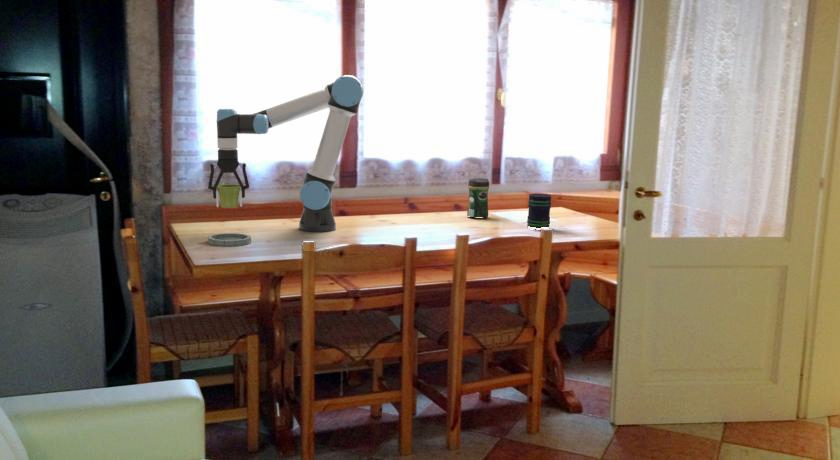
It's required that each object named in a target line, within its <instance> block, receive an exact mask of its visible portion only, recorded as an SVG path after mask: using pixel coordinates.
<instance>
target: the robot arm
mask: <svg viewBox="0 0 840 460" xmlns="http://www.w3.org/2000/svg"><path fill="white" fill-rule="evenodd" d="M363 94H364V87H363V83H362V82H361V80H360V79H359V78H358V77H356V76H354V75H352V74H344V75H343V74H342V75H341V76H339V77H337V78H336V80H334V82H331V83H329V84H326V85H325V87H324V88H323V89H320V90H318V91H317V90H316V91H315V92H312V93H309V94H307V95H303V96H300V97H297V98H294V99H292V100H289V101H286V102H284V103H280V104H277V105H275V106H273V107H269V108H266V109H265V110H264V109H263V110H260V111H258V112H254V113H250V114H240V113H237V109H234V108H219V109H218V110H217V111H216V129H217V131H216V132H217V134H216V135H217V148H218V150H217V162H215V163H210V164H209V165H210V174H209V181H208V186H207V188H208V189H210V190H212V197H213V199H214V200H216V203H215V204H216V208H219V191H218V188H217V186H218V185H220V184H219V183H220V182H221V179H222V177H223V175H224V174H228V173H229V174H231V173H233V175H234V176H235V179H236V180H237V183H238V185H240V186H241V187H240V190H239V208H240V207H241V208H242V207H243V199H245V197H246V190H247V189H249V188H250V184H249V179H248V176H247V171H246V168H247V164H246V162H243V163H242V162H239V159H238V158H239V156H238V155H239V153H238V149H237V148H238V135H239V134H241V135H242V134H243V135H245V134H246V135H247V134H248V135H265V134H268V132H269V129H272V128H274V127H276V126H279V125H282V124H285V123H288V122H291V121H294V120H296V119H299V118H303V117H305V116H308V115H311V114H315V113H317V112H319V111H322V110H326V109H328V108H329V113H328V116H327V120H326V122H325V126H324V129H323V133H322V136H321V139H320V141H319V146H318V147H317V148H318V149H317V151H316V155H315V159H314V162H313V165H312V168H311V169H309V170H307V171H306V173H305V174H304V176H303V184H302V187H301V188H300V191H299V199H300V201H301V203H302V204H303V211H302V214H301V216H300V220H299V223H298V227H299V228H298V229H299V230H301V231H306V232H331V231H335V230H336V228H337V224H336V219H335V217H334V216H335V215H334V214H333V209H332V208H333V189H334V186H335V183H336V178H335V176H334V174H335V170H336V166H337V163H338V160H339V157H340V154H341V152H342V148H343V145H344V142H345V138H346V135H347V132H348V128H349V126H350V122H351V119H352V117H354V116H356V115H357V113H358V109H359V107H360V103H361V101H362V98H363V96H364V95H363ZM217 167H218V168H219V170H220V171H219V173H218V176H217V178H216V180H215V183H214V185H213V182H214V181H213V180H214V173H215V169H216V168H217ZM239 167H240V169H241V170H242V175H243V179H244V183H245V185H244V184H243V182H242V179H241V178H240V176H239V173H238V171H237V168H239Z"/></svg>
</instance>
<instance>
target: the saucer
mask: <svg viewBox="0 0 840 460" xmlns="http://www.w3.org/2000/svg"><path fill="white" fill-rule="evenodd" d="M251 237H252V236H251V235H250V234H249V235H248V234H246V233H236V232H224V233H214V234H211V235H208V237H207V238H208V239H207V242H208V243H207V244H209V245H212V246H217V247H238V246H239V247H241V246H245V245H249V244H251V242H252V238H251Z"/></svg>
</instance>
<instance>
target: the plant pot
mask: <svg viewBox="0 0 840 460" xmlns="http://www.w3.org/2000/svg"><path fill="white" fill-rule="evenodd" d="M240 189H241V186H240V185H239V184H236V183H235V184H233V183H230V184H229V183H228V184H227V183H226V184H225V183H224V184H218V186H217V190H218V196H219V201H220V205H221V206H220V207H221V208H223V209H236V208H238V205H239V204H238V203H239V197H240Z"/></svg>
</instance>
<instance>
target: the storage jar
mask: <svg viewBox="0 0 840 460" xmlns="http://www.w3.org/2000/svg"><path fill="white" fill-rule="evenodd" d="M551 206H552V195H550V194H547V193H546V194H545V193H530V194H528V205H527V207H528V215H527V220H526V225H527V227H528V226H530V227H536V228H541V227H549V228H550V223H551V221H550V220H551V217H550V213H551V211H550V210H551Z"/></svg>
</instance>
